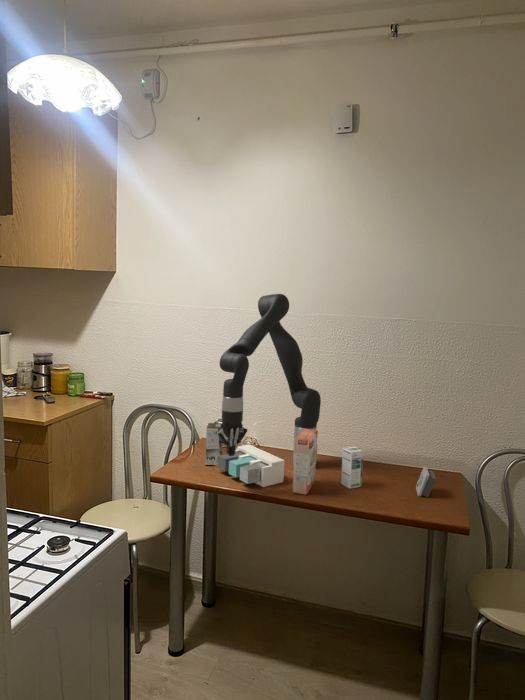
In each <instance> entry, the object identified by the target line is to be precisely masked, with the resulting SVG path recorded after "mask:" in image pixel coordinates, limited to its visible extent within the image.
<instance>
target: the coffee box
mask: <svg viewBox="0 0 525 700" xmlns="http://www.w3.org/2000/svg"><path fill="white" fill-rule="evenodd" d="M206 426H207V427H206V431H205V432H206V433H205V434H206V435H205V436H206V439H205V440H206V442H205V464H213V465H218V456H219V455H223V445H224V444H222V442H221V441H220V440H219V438H218V437H217V436H216V434H215V433H216V432H218V431H219V430H220V429H221V426H222V422H209V423H208V424H207V425H206Z"/></svg>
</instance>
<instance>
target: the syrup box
mask: <svg viewBox="0 0 525 700" xmlns="http://www.w3.org/2000/svg"><path fill="white" fill-rule="evenodd" d="M341 457H342V458H341V477H340V478H341V480H340V484H341V485H342V486H344V487H345V488H348V489H356V488H361V487H362V486H363V485H362V484H363V472H364V471H363V469H364V450H363V449H362V448H360V447H357V446H350V447H343V448H342V456H341Z"/></svg>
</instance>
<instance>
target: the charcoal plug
mask: <svg viewBox="0 0 525 700" xmlns="http://www.w3.org/2000/svg"><path fill="white" fill-rule="evenodd" d="M240 455H245V454H243V453H241V452H235V454H234V456H229V455H228V454H227V453H226V454H222V455H219V456H218V466H217V467H218V469H220V470H222V471H223V472H229V461H232V460H236V459H239V456H240Z"/></svg>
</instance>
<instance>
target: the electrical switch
mask: <svg viewBox="0 0 525 700" xmlns="http://www.w3.org/2000/svg"><path fill="white" fill-rule="evenodd" d="M436 480H437V478H436V475H435V472H434V471H433V470H430V469H428V467H427V466H423V468H422V470H421V472H420V476H419V477H418V480H417V483H416V484H415V491H416V493H417V494H416V495H417V496H418V497H420V498H421V497H422V496H423V497H426V498H429V496H430V495H431V492H432V490H433V487H434V485H435V482H436Z"/></svg>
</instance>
